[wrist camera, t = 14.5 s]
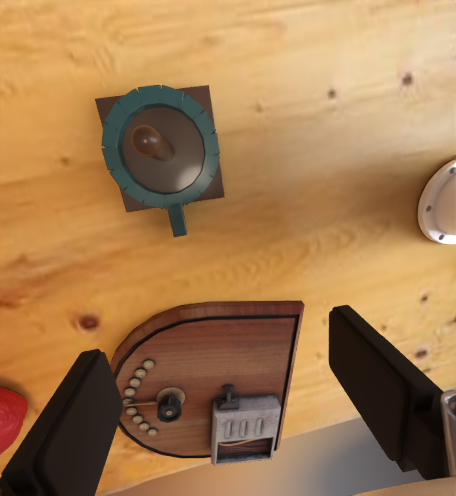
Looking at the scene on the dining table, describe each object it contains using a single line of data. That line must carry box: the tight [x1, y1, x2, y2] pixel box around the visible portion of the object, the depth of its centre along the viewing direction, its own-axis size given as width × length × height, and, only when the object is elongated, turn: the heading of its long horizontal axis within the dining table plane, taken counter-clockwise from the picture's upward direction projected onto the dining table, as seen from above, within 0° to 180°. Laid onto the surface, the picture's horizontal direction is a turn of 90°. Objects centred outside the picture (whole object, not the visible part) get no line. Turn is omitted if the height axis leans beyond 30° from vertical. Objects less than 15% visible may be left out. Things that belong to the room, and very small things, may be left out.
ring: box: [102, 85, 220, 237], centre depth 27 cm, size 12×16×2 cm
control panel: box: [110, 301, 304, 465], centre depth 37 cm, size 31×5×30 cm
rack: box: [95, 85, 224, 212], centre depth 22 cm, size 12×12×13 cm
